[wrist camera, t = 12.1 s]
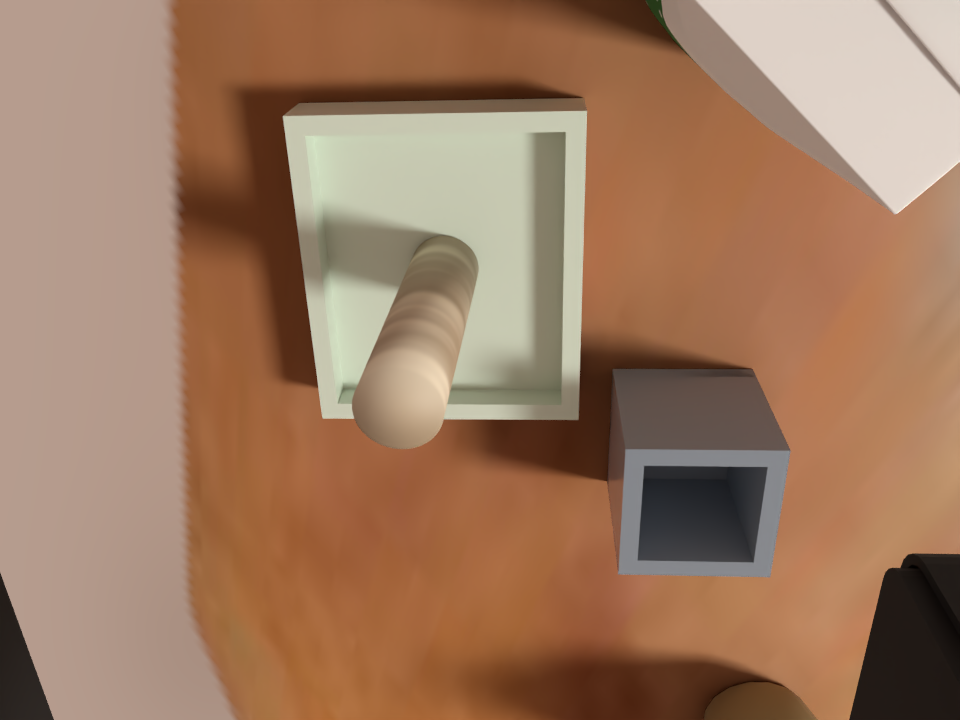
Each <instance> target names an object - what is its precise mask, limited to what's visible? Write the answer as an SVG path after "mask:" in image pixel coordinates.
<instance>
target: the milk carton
mask: <svg viewBox="0 0 960 720" xmlns="http://www.w3.org/2000/svg"><path fill="white" fill-rule="evenodd" d="M646 3H647V5H648V6H649V8H650V10H651V11H652V13H653V14H654V16H655V17H656V18H657V20H658V21H659V22H660V23H661V25H662V26H663V27H664V28H665V30H666V31H667V32H668V34H669V35H670V36H671V37H672V39H673V40H674V41H675V42H676V43H677V44H678V45H679V46H680V48H681V49H682V50H683V51H684V52H685V53H686V54H687V55H688V56H689V57H690V58H691V59H692V60H693V61H694V62H695V63H696V64H697V65H699V66H700V67H701V68H702V69H703V70H704V71H705V72H706V73H707V74H708V75H709V76H710V77H711V78H712V79H713V80H714V81H715V82H716V83H717V84H718V85H719V86H720V87H721V88H722V89H723V90H724V91H725V92H726V93H727V94H729V95H730V96H731V97H732V98H733V99H734V100H736V101H737V102H738V103H739V104H740V105H742V106H743V107H744V108H745V109H746V110H748V111H749V112H750V113H751V114H752V115H753V116H754V117H755V118H757V119H758V120H759V121H760V122H761V123H763V124H764V125H765V126H766V127H768V128H769V129H770V130H772V131H773V132H774V133H776V134H777V135H779V136H780V137H782V138H783V139H785V140H786V141H788V142H789V143H791V144H792V145H794V146H795V147H797V148H798V149H800V150H801V151H803V152H804V153H806V154H807V155H809V156H810V157H812V158H813V159H815V160H816V161H818V162H819V163H821V164H822V165H824V166H825V167H827V168H828V169H830V170H831V171H833V172H834V173H836V174H837V175H839V176H840V177H842V178H843V179H845V180H846V181H848V182H849V183H851V184H852V185H854V186H855V187H857V188H858V189H859V190H861V191H862V192H864V193H865V194H867V195H868V196H869V197H871V198H872V199H874V200H875V201H877V202H878V203H879V204H881V205H882V206H884V207H885V208H887V209H888V210H889V211H891V212H892V213H893V214H897V213H899V212H900V211H901V210H902V209H903V208H905V207H906V206H907V205H908V204H910V203H911V202H912V201H913V200H914V199H916V198H917V197H918V196H919V195H921V194H922V193H923V192H924V191H925V190H927V189H928V188H929V187H930V186H931V185H932V184H934V183H935V182H936V181H937V180H938V179H940V178H941V177H942V176H943V175H944V174H946V173H947V172H948V171H949V170H950V169H952V168H953V167H954V166H955V165H956V164H958V163H959V162H960V0H646Z"/></svg>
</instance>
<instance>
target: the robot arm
mask: <svg viewBox="0 0 960 720" xmlns="http://www.w3.org/2000/svg"><path fill="white" fill-rule="evenodd" d="M0 720H54V719H53V716H52V714H51V711H50V708H49V705H48V703H47V700H46V697H45V694H44V692H43V689H42V686H41V684H40V681H39V678H38V675H37V672H36V670H35V667H34V664H33V662H32V659H31V656H30V653H29V651H28V648H27V645H26V643H25V640H24V637H23V634H22V631H21V629H20V626H19V623H18V620H17V618H16V615H15V612H14V609H13V607H12V604H11V601H10V599H9V596H8V593H7V590H6V588H5V585H4V582H3V579H2V577H1V574H0ZM849 720H960V554H909V555H907V557H906V558H905V559H904V560H903V563H902V565H901V568H890V569H888V570H887V571H886V573H885V575H884V578H883V582H882V586H881V590H880V594H879V599H878V603H877V607H876V611H875V615H874V619H873V624H872V628H871V632H870V636H869V640H868V644H867V649H866V653H865V657H864V661H863V665H862V669H861V674H860V678H859V682H858V686H857V690H856V694H855V699H854V703H853V707H852V711H851V715H850V719H849Z"/></svg>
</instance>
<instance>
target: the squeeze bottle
mask: <svg viewBox="0 0 960 720" xmlns="http://www.w3.org/2000/svg"><path fill="white" fill-rule="evenodd" d="M704 720H817V718H816V717H815V716H814V715H813V714H812V712H811V711H810V710H809V709H808V707H807V706H806V705H805V704H804V703H803V701H802V700H801V699H800V698H799V697H798V696H797V695H795V694H794V693H793V692H791V691H790V690H789V689H788V688H786V687H783V686H779V685H776V684H773V683H769V682H747V683H744V684H740V685H736V686H733V687H729V688H728V689H726V690H725V691H723V692H722V693H720V694H718V695H717V696H715V697H714V698H713V700H712V701H711V703H710V704H709V706H708V707H707V709H706V710H705V715H704Z"/></svg>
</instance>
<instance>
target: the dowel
mask: <svg viewBox="0 0 960 720" xmlns="http://www.w3.org/2000/svg"><path fill="white" fill-rule="evenodd" d="M478 272H479V266H478V261H477V258H476V256H475V254H474V252H473V251H472V249H471V248H470V247H469V246H468V245H467V244H466V243H464V242H463V241H461V240H459V239H457V238H454V237H450V236H436V237H432V238H430V239H428V240H426V241H424V242H423V243H422V244H420V246H419V247H418V248H417V249H416V251H415V253H414V255H413V257H412V259H411V262H410V264H409V266H408V269H407V271H406V273H405V276H404V278H403V280H402V283H401V285H400V287H399V290H398V292H397V294H396V297H395V299H394V301H393V304H392V306H391V308H390V311H389V313H388V315H387V318H386V320H385V322H384V325H383V327H382V329H381V332H380V334H379V336H378V339H377V341H376V343H375V346H374V348H373V350H372V353H371V355H370V357H369V360H368V362H367V364H366V367H365V369H364V371H363V374H362V376H361V378H360V380H359V383H358V385H357V387H356V390H355V392H354V395H353V399H352V412H353V416H354V419H355V421H356V423H357V425H358V426H359V428H360V429H361V430H362V431H363V433H364V434H366V435H367V436H368V437H369V438H370V439H372V440H373V441H375V442H377V443H379V444H381V445H383V446H386V447H390V448H395V449H410V448H415V447H418V446H421V445H423V444H425V443H427V442H428V441H430V440H431V439H432V438H433V437H435V435H436V434H437V433H438V432H439V430H440V428H441V426H442V423H443V419H444V415H445V411H446V407H447V403H448V398H449V394H450V390H451V386H452V382H453V377H454V373H455V369H456V365H457V361H458V357H459V352H460V348H461V344H462V340H463V336H464V332H465V327H466V323H467V319H468V315H469V311H470V306H471V302H472V298H473V294H474V290H475V286H476V281H477V277H478Z"/></svg>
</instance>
